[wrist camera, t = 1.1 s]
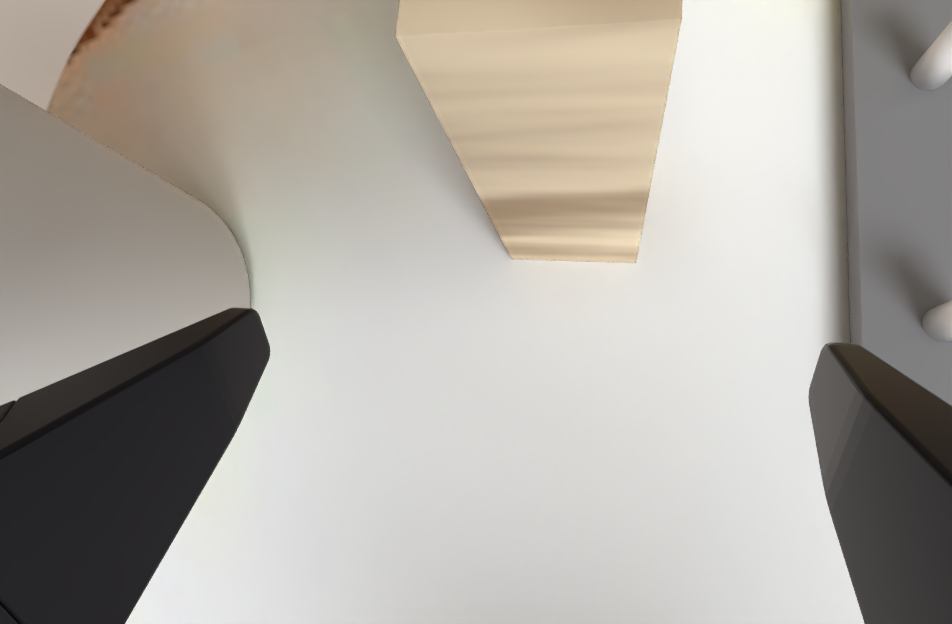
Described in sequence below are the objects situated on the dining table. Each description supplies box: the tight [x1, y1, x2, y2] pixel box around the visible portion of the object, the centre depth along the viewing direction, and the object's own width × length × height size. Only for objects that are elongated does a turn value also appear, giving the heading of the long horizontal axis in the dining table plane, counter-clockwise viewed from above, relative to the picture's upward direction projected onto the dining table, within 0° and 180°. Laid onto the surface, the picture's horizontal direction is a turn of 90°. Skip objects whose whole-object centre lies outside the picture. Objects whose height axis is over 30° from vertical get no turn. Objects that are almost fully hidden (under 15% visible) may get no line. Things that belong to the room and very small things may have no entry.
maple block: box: [395, 0, 682, 263], centre depth 17 cm, size 5×5×14 cm
